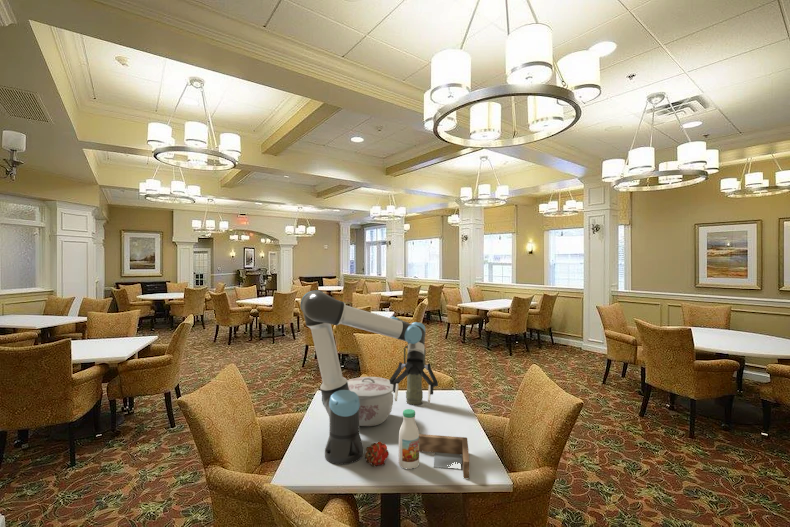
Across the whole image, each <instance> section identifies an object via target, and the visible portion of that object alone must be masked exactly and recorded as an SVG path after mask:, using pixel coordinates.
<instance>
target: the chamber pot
mask: <svg viewBox="0 0 790 527" xmlns="http://www.w3.org/2000/svg"><path fill="white" fill-rule="evenodd" d="M347 382H348V387H349V390H350V391H351V392H352V391H353V392H355V393H356V394H357V395H358V397H359V402H360V407H359V427H373V426H378V425H380V424H382V423H384V422H385V421H386V420H387V418H388V417H389V415H390V414H391V412H392V409H393V405H394V392H393V384H390V379H389V378H384V377H379V376H359V377H355V378H351V379H347Z"/></svg>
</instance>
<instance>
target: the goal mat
mask: <svg viewBox="0 0 790 527" xmlns="http://www.w3.org/2000/svg"><path fill="white" fill-rule="evenodd" d="M433 459H434V460H433V468H435V467H439V468H438V469H446V468H448V467H450V466H451V464H452V463H454V462H455V464H456V462H457V464H458V463H460V464H462V465H463V460H462V455H461V454H450V453H438V452H435V453H434V458H433ZM447 465H448V466H447ZM449 465H450V466H449ZM452 465H453V464H452Z"/></svg>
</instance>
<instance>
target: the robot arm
mask: <svg viewBox="0 0 790 527" xmlns="http://www.w3.org/2000/svg"><path fill="white" fill-rule="evenodd" d="M300 309H301V310H300V311H302V313H303V318H304V323H305V327H308V328H309V329H310V331H311V336H312V341H313V346H314V349H315V354H316V358H317V362H318V367H319V371H320V376H321V380H322V382H321V384H320V386H319V387H320V392H321V403H322V406H323V407H324V408H325V410H326V413H327V414H328V417H329V419H328V420H329V436H328V439H327V441H326V444H325V448H324V458H325V460H327V461H328V462H330V463H332V464H334V465H335V464H337V465H349V464H352V463H356V462H357V461H359V460H360V459H361V458H362V457H363V456H364V454H365V453H364V450H365V449H364V445H363V441H362V438H361V434H360V426H359V407H360V402H359V397H358V395H357V394H356V393H355V392H353V391H352V392H351V391H350V390H349V387H348V382H347V380H348V379H347V378H346V377H344V376H343V372H342V368H341V364H340V363H341V362H340V360H339V354H338V350H337V346H336V341H335V337H334V333H333V332H334V331H333V328H332V325H334V326H339V325H343V326H348V327H351V328H355V329H359V330H364V331H366V332H370V333H373V334H374V333H375V334H378V335H382V336H386V337H388V338H393V339H396V340H400V341H403V342H406V343H407V345H408V348H407V351H406V352H407V354H406V360H407V362H406V364H404V363H402V362H401V361H400V362H399V363H398V367H397V368H396V369H395V371H394V373H393V374H392V375H391V377H390V379H389V380H390V384H393V392H392V393H393V394H394V397H393V400H394V402H398V395H399V394H398V392H399V384H400V383H401V382H402V381H403V380H404V379H406V378H407V376H408V375H409V374H411V375H414V374H415V375H418V374H420V375H421V376H422V379H424V381H425V382H426V383H427V384H428V389H427V390H428V393H427V403H428V404H431V396H432V395H434V388H435V387H439V382H438V380H437V378H436V376H435V374H434V372H433V370H432V368H431V363H427V364H425V365H424V348H425V349H426V347H425V343H426V335H427V334H426V326H425V325H424V324H423V323H422V322H418V321H415V322H411V323H409V322H407V321H405V320H402V319H400V318H398V317H395V316H390V317H388V316H385V315H381V314H378V313H374V312H371V311H368V310H364V309H361V308H357V307H354V306H350V305H346V303H345V302H344V301H341V300H339V299H336V298H334V297H333V296H331V295H329V294H327V293H325V292H324V291H322V290H317V289H315V290H311V291H308V292H306V293H305V294H304V295H303V296H302V298H301V301H300ZM404 368H405V370H404V371H403V372H402V370H403V369H404ZM424 369H426V371H428V374H429V376H430V377H429V376H428V375H427V373H426V372H425V371H424ZM430 378H431V379H430Z"/></svg>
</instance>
